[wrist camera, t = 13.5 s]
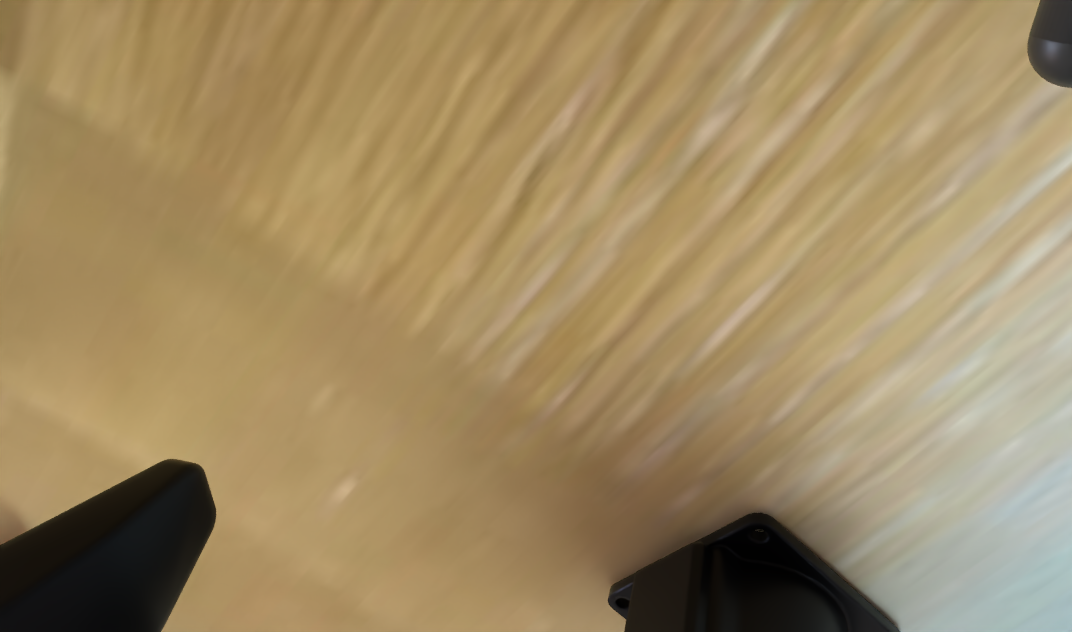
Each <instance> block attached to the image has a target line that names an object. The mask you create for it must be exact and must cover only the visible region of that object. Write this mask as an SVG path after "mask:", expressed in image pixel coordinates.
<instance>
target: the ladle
mask: <svg viewBox="0 0 1072 632" xmlns="http://www.w3.org/2000/svg"><path fill="white" fill-rule="evenodd" d="M1028 56H1029V60H1030V63H1031V65H1032V66H1033V68H1034V70H1035V71H1036V72H1037V73H1038V74H1039V75H1040V76H1041V77H1042V78H1044V79H1045V80H1046V81H1048V82H1050V83H1053V84H1055V85H1058V86H1061V87H1068V88H1072V0H1040V3H1039V6H1038V9H1037V12H1036V15H1035V18H1034V22H1033V25H1032V28H1031V31H1030V35H1029V39H1028Z"/></svg>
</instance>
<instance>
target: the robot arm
mask: <svg viewBox="0 0 1072 632" xmlns="http://www.w3.org/2000/svg"><path fill="white" fill-rule="evenodd" d="M215 520H216V508H215V504H214V501H213V498H212V494H211V491H210V488H209V484H208V481H207V478H206V474H205V472H204V470H203V468H202V467H201V466H200V465H198V464H196V463H191V462H187V461H182V460H177V459H167V460H164V461H162V462H159V463H157V464H156V465H154V466H152V467H150V468H148V469H146V470H144V471H142V472H140V473H138V474H136V475H134V476H133V477H131V478H129V479H127V480H125V481H123V482H121V483H119V484H117V485H115V486H113V487H111V488H110V489H108V490H106V491H104V492H102V493H100V494H98V495H96V496H94V497H92V498H90V499H88V500H86V501H85V502H83V503H81V504H79V505H77V506H75V507H73V508H71V509H69V510H67V511H65V512H63V513H62V514H60V515H58V516H56V517H54V518H52V519H50V520H48V521H46V522H44V523H42V524H40V525H39V526H37V527H35V528H33V529H31V530H29V531H27V532H25V533H23V534H21V535H19V536H17V537H15V538H14V539H12V540H10V541H8V542H6V543H4V544H2V545H0V632H161V631H162V629H163V627H164V625H165V624H166V622H167V620H168V618H169V616H170V614H171V612H172V610H173V608H174V606H175V604H176V602H177V600H178V598H179V596H180V594H181V592H182V590H183V588H184V586H185V584H186V582H187V580H188V578H189V576H190V574H191V572H192V570H193V568H194V566H195V564H196V562H197V560H198V558H199V556H200V554H201V552H202V550H203V548H204V546H205V544H206V542H207V540H208V538H209V536H210V534H211V532H212V530H213V528H214V524H215ZM756 529H760V530H764V531H762V532H760V531H755V530H756ZM608 603H609V605H610V606H611V607H612V608H613V609H614V610H615V611H616V612H618V613H619V614H620V615H621V616H623V617H624V618H625V619H626V625H625V631H624V632H900V630H899V629H898V628H897V627H896V626H894V625H893V624H892V623H891V622H890V621H889V620H888V619H887V618H885V617H884V616H883V615H882V614H881V613H880V612H879V611H878V610H876V609H875V608H874V607H873V606H872V605H871V604H870V603H869V602H867V601H866V600H865V599H864V598H863V597H862V596H861V595H860V594H858V593H857V592H856V591H855V590H854V589H853V588H852V587H851V586H849V585H848V584H847V583H846V582H845V581H844V580H843V579H842V578H840V577H839V576H838V575H837V574H836V573H835V572H834V571H832V570H831V569H830V568H829V567H828V566H827V565H826V564H825V563H823V562H822V561H821V560H820V559H819V558H818V557H817V556H816V555H814V554H813V553H812V552H811V551H810V550H809V549H808V548H807V547H805V546H804V545H803V544H802V543H801V542H800V541H799V540H798V539H796V538H795V537H794V536H793V535H792V534H791V533H790V532H789V531H787V530H786V529H785V528H784V527H783V526H782V525H781V524H780V523H778V522H777V521H776V520H775V519H774V518H773V517H771V516H769V515H768V514H764V513H751V514H748V515H746V516H744V517H742V518H740V519H738V520H736V521H734V522H732V523H731V524H729V525H727V526H725V527H723V528H721V529H719V530H717V531H715V532H713V533H711V534H709V535H708V536H706V537H704V538H702V539H700V540H698V541H696V542H694V543H691V544H689V545H687V546H685V547H683V548H681V549H680V550H678V551H676V552H674V553H672V554H670V555H668V556H666V557H664V558H662V559H660V560H658V561H657V562H655V563H653V564H651V565H649V566H647V567H645V568H643V569H641V570H639V571H637V572H636V573H635V574H633V575H631V576H629V577H627V578H625V579H623V580H621V581H619V582H617V583H615V584H614V585H613V586H611V589H610V593H609V598H608Z"/></svg>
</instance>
